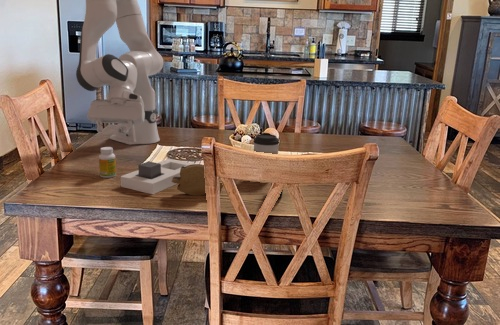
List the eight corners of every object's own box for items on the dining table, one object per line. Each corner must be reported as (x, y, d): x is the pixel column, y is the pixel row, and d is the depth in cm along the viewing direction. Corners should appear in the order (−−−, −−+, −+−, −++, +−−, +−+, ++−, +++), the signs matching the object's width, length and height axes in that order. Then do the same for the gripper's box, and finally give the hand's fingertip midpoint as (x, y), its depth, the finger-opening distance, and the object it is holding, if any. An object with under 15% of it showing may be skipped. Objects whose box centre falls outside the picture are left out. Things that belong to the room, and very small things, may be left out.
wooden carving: (224, 191, 153) (224, 161, 150) (225, 196, 148) (226, 165, 146) (171, 192, 150) (171, 161, 147) (171, 197, 146) (171, 166, 143)
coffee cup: (278, 180, 165) (280, 138, 160) (252, 180, 165) (253, 137, 160) (276, 172, 173) (278, 132, 169) (251, 172, 173) (253, 131, 169)
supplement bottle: (109, 179, 160) (108, 151, 158) (96, 176, 162) (94, 149, 160) (119, 174, 165) (118, 147, 163) (106, 172, 167) (105, 145, 164)
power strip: (121, 186, 154) (120, 165, 152) (169, 167, 175) (169, 149, 173) (152, 194, 148) (152, 172, 146) (198, 174, 169) (199, 154, 167)
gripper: (89, 94, 174) (80, 125, 168) (144, 96, 174) (138, 128, 167) (94, 104, 180) (86, 135, 173) (148, 106, 179) (142, 137, 172)
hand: (112, 131), depth 170 cm, fingers open, 8 cm apart
